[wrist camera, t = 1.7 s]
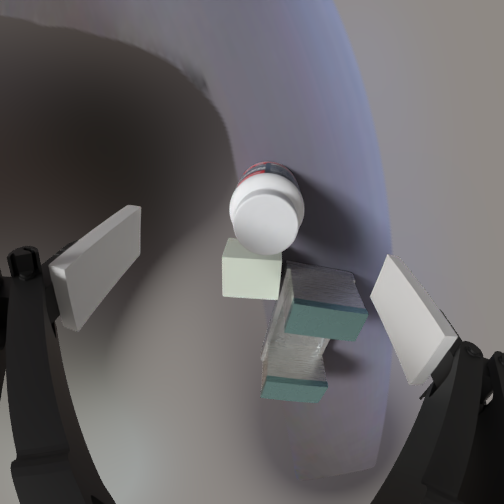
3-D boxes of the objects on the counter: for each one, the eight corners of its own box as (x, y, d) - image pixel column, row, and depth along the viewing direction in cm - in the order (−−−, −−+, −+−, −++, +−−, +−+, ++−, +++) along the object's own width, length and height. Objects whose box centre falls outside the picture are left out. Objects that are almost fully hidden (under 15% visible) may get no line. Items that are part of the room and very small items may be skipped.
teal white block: (286, 259, 28) (291, 303, 21) (352, 272, 28) (371, 315, 22) (260, 351, 34) (258, 397, 27) (314, 358, 34) (320, 403, 27)
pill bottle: (262, 148, 23) (258, 163, 15) (309, 185, 24) (328, 218, 16) (226, 195, 25) (206, 232, 17) (272, 228, 26) (273, 278, 18)
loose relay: (228, 237, 27) (222, 257, 24) (280, 240, 27) (282, 260, 23) (228, 273, 29) (222, 296, 25) (277, 276, 29) (278, 300, 25)
